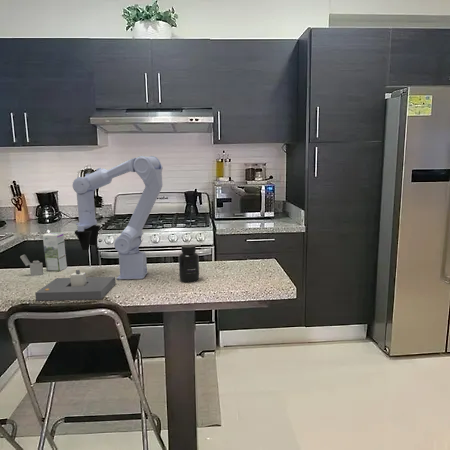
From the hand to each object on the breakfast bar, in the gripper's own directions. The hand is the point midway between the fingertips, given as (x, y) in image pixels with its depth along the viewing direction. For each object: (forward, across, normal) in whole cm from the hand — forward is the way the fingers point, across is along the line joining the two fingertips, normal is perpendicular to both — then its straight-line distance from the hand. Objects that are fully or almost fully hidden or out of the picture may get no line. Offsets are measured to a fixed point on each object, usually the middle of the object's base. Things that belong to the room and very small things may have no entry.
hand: (89, 247), depth 144 cm
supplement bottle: (+10, +9, +37) cm, 40 cm away
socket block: (+10, +19, +2) cm, 22 cm away
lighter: (+11, -2, -23) cm, 25 cm away
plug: (+10, +19, +3) cm, 22 cm away
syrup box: (+11, -9, -17) cm, 22 cm away
